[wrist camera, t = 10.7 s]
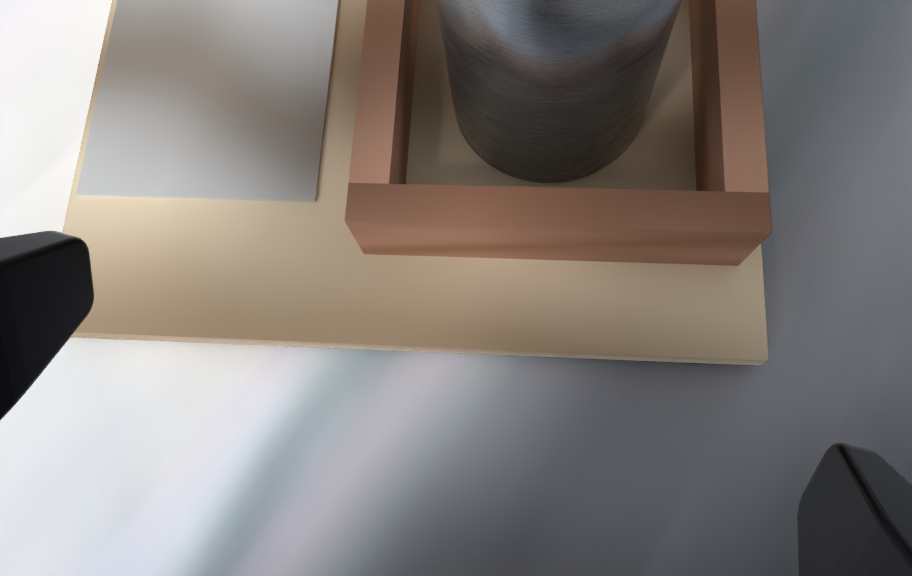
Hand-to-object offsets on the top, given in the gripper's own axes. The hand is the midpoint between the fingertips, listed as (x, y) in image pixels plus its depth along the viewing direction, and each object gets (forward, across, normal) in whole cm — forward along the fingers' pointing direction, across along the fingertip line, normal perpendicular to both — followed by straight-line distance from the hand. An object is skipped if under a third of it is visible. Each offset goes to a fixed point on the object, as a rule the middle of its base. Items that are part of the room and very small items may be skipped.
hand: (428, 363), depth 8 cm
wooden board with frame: (+10, +3, 0) cm, 10 cm away
